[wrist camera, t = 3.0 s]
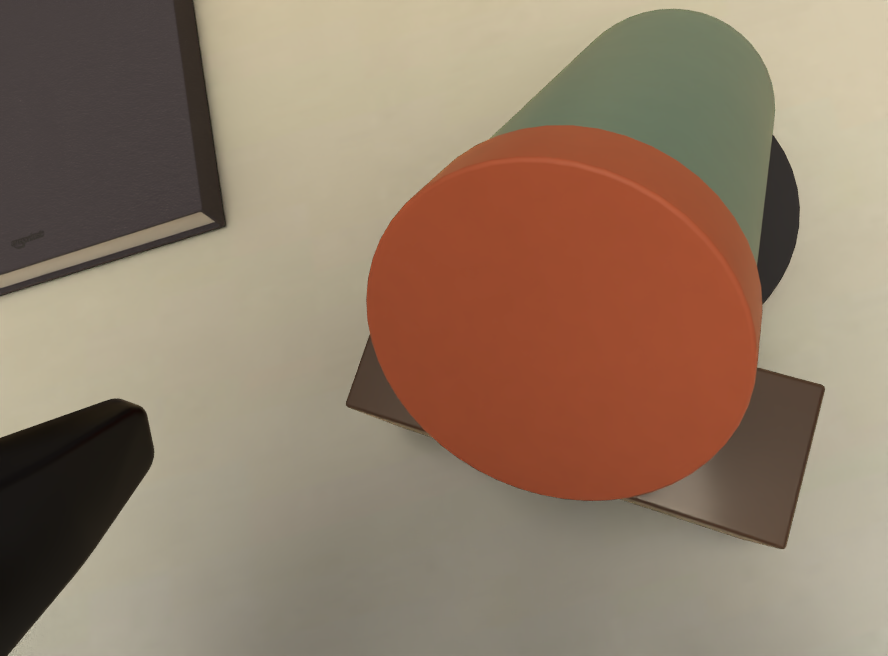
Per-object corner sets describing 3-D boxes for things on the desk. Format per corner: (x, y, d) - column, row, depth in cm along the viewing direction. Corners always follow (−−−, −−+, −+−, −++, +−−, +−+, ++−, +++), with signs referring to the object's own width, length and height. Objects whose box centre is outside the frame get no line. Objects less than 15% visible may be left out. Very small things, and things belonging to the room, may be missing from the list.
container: (664, 532, 20) (732, 566, 8) (456, 462, 22) (262, 406, 10) (779, 110, 22) (970, -359, 10) (580, 75, 24) (544, -365, 12)
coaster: (754, 393, 21) (757, 391, 20) (462, 312, 23) (459, 309, 23) (828, 112, 22) (832, 105, 22) (544, 63, 24) (543, 56, 24)
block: (745, 540, 20) (786, 550, 15) (400, 427, 23) (343, 405, 18) (778, 413, 20) (827, 385, 16) (437, 317, 23) (391, 268, 18)
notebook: (226, 227, 26) (158, -236, 31) (201, 209, 24) (135, -273, 30) (-91, 325, 28) (-100, -127, 33) (-131, 314, 26) (-133, -157, 32)
